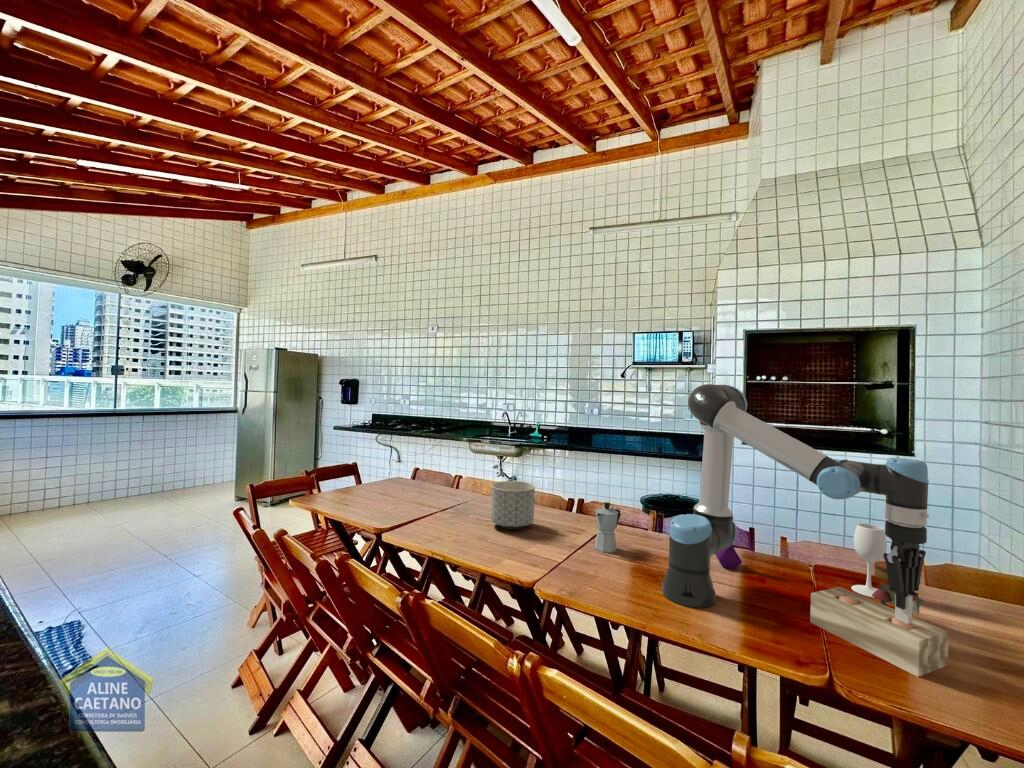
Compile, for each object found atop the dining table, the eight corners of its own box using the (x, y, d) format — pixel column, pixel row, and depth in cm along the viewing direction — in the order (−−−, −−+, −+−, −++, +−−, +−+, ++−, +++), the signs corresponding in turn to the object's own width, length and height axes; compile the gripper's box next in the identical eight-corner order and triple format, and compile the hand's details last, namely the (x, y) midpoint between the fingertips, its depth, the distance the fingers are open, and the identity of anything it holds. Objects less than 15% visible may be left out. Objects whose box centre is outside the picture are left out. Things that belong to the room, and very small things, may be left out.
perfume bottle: (742, 571, 153) (743, 520, 153) (719, 569, 154) (720, 518, 154) (735, 563, 160) (737, 513, 160) (713, 560, 162) (715, 512, 162)
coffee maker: (604, 556, 163) (606, 507, 163) (586, 549, 170) (587, 502, 170) (628, 547, 173) (629, 501, 173) (609, 541, 179) (611, 497, 179)
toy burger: (908, 636, 115) (909, 579, 115) (854, 612, 126) (856, 560, 126) (932, 627, 119) (933, 572, 119) (878, 605, 131) (879, 555, 131)
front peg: (907, 657, 103) (907, 627, 103) (887, 647, 107) (888, 619, 107) (916, 653, 105) (917, 624, 105) (896, 644, 108) (897, 616, 108)
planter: (507, 517, 207) (508, 479, 207) (541, 526, 196) (542, 485, 196) (481, 527, 192) (483, 485, 192) (517, 537, 180) (518, 493, 180)
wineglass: (878, 601, 134) (880, 532, 134) (845, 589, 142) (847, 524, 142) (891, 595, 138) (893, 528, 138) (859, 584, 146) (861, 521, 146)
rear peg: (851, 630, 114) (852, 603, 114) (835, 622, 118) (835, 596, 118) (860, 627, 116) (861, 601, 116) (844, 620, 120) (845, 594, 120)
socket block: (918, 677, 98) (919, 641, 98) (810, 622, 120) (810, 593, 120) (947, 665, 103) (948, 631, 103) (838, 614, 125) (839, 586, 125)
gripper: (908, 530, 100) (906, 634, 100) (940, 525, 105) (938, 624, 105) (871, 521, 107) (869, 617, 107) (902, 516, 112) (900, 609, 112)
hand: (903, 620), depth 106 cm, fingers closed
